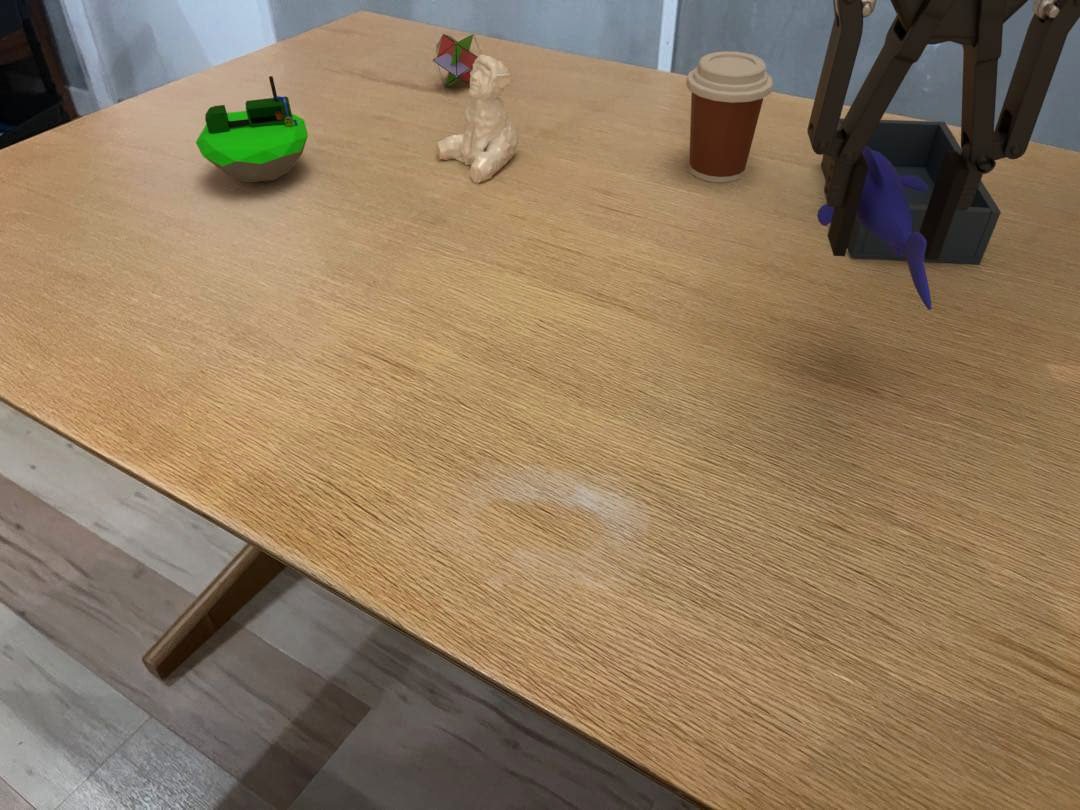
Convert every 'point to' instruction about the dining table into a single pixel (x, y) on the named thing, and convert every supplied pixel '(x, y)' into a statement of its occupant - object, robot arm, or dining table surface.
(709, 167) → the coffee cup
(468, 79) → the geometric puzzle
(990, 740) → the dining table surface
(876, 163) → the fish toy
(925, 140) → the bin
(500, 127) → the seated clay statuette
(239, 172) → the miniature floating island
